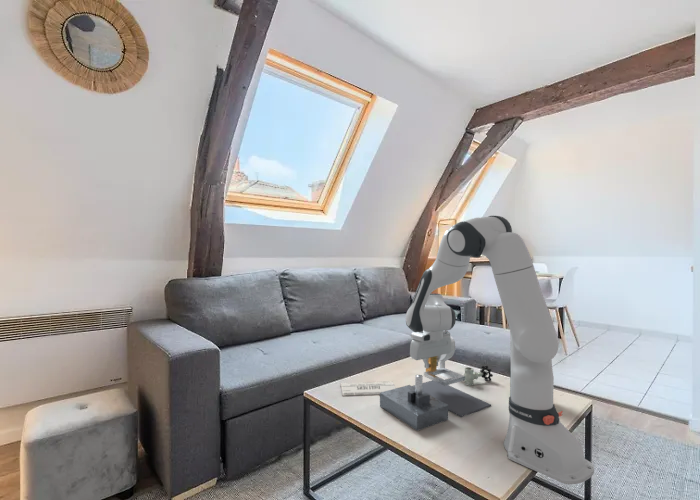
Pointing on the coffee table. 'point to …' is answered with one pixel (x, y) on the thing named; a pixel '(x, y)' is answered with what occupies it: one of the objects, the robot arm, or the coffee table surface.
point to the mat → (454, 398)
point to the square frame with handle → (434, 371)
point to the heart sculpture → (446, 358)
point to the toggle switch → (414, 405)
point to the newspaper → (366, 388)
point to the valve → (476, 375)
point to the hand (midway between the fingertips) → (431, 366)
